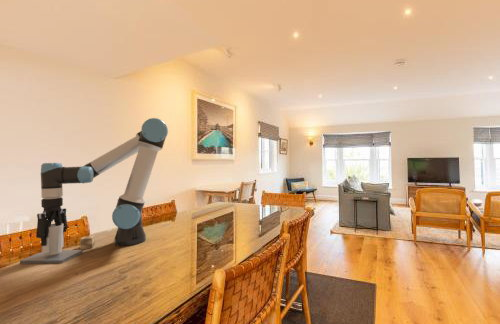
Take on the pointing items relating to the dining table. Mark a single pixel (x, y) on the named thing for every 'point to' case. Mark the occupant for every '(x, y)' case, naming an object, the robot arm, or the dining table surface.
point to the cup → (55, 239)
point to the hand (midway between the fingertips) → (53, 249)
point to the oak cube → (87, 242)
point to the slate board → (52, 257)
